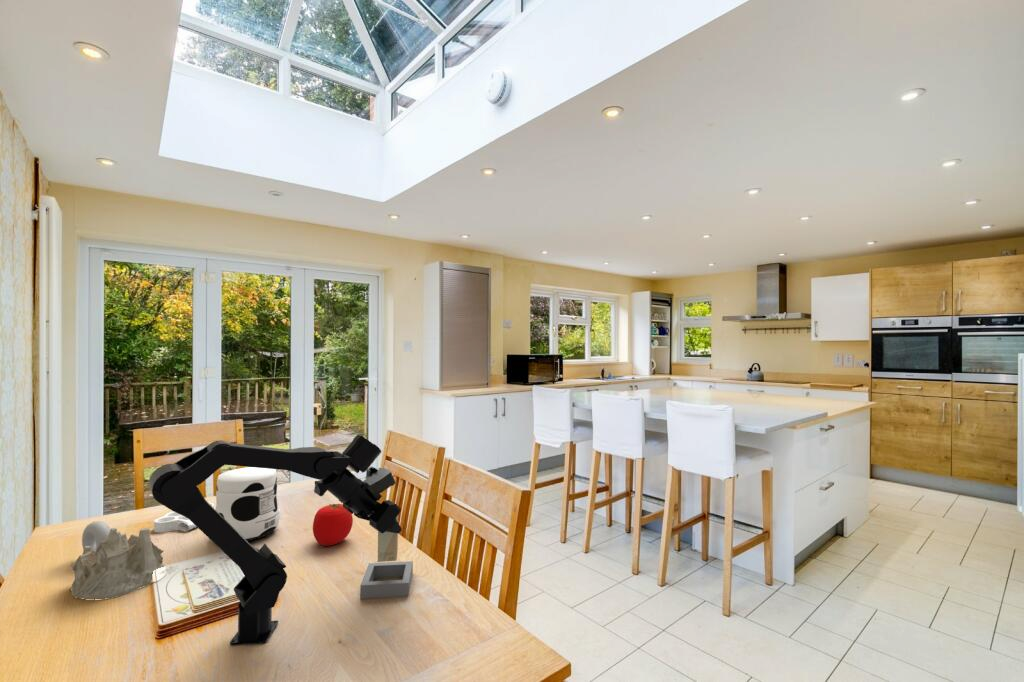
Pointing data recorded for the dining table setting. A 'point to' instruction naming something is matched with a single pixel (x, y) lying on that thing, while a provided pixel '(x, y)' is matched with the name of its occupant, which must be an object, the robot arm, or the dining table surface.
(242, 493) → the milk container
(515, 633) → the dining table surface
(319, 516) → the tomato
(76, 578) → the grey castle model
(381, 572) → the block
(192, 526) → the white dimpled tray
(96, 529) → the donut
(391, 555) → the box
